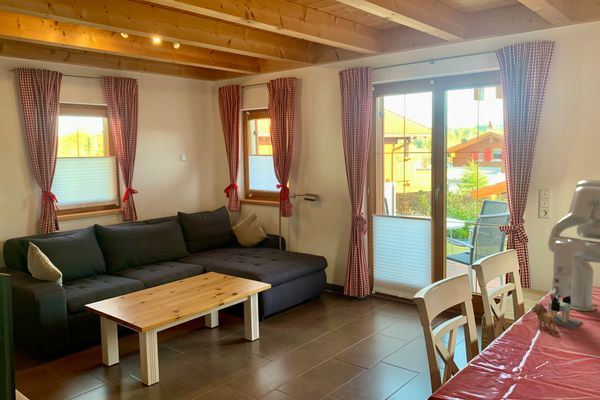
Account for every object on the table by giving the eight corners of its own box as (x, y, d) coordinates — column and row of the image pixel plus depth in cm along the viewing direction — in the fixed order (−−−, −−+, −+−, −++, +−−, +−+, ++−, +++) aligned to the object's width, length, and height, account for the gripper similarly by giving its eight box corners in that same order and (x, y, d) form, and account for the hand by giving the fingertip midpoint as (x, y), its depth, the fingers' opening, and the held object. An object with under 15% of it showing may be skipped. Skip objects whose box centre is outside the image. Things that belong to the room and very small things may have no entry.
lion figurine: (528, 322, 206) (529, 302, 205) (539, 321, 207) (540, 301, 206) (553, 336, 192) (554, 314, 191) (565, 334, 193) (566, 313, 192)
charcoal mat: (549, 314, 215) (549, 312, 215) (582, 323, 204) (583, 321, 204) (538, 319, 209) (538, 317, 209) (571, 329, 198) (572, 327, 198)
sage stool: (570, 320, 206) (571, 304, 205) (564, 322, 203) (565, 306, 202) (553, 315, 211) (554, 300, 210) (548, 318, 208) (548, 302, 207)
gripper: (562, 275, 196) (560, 315, 198) (581, 267, 206) (579, 306, 208) (543, 271, 202) (542, 310, 204) (563, 264, 212) (561, 301, 214)
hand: (560, 308), depth 206 cm, fingers open, 9 cm apart
